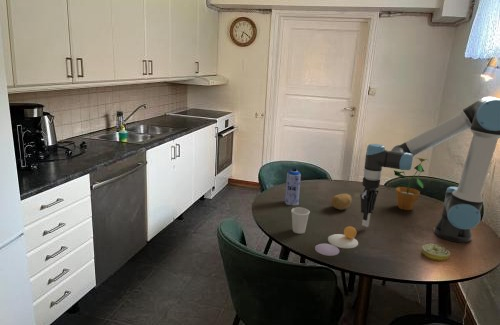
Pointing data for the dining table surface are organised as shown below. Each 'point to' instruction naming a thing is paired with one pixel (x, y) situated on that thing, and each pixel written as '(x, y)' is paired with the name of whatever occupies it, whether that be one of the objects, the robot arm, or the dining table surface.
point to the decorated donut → (435, 252)
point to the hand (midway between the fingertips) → (365, 225)
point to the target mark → (342, 241)
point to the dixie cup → (299, 219)
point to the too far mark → (327, 249)
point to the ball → (350, 232)
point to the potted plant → (408, 190)
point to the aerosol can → (292, 187)
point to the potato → (341, 201)
